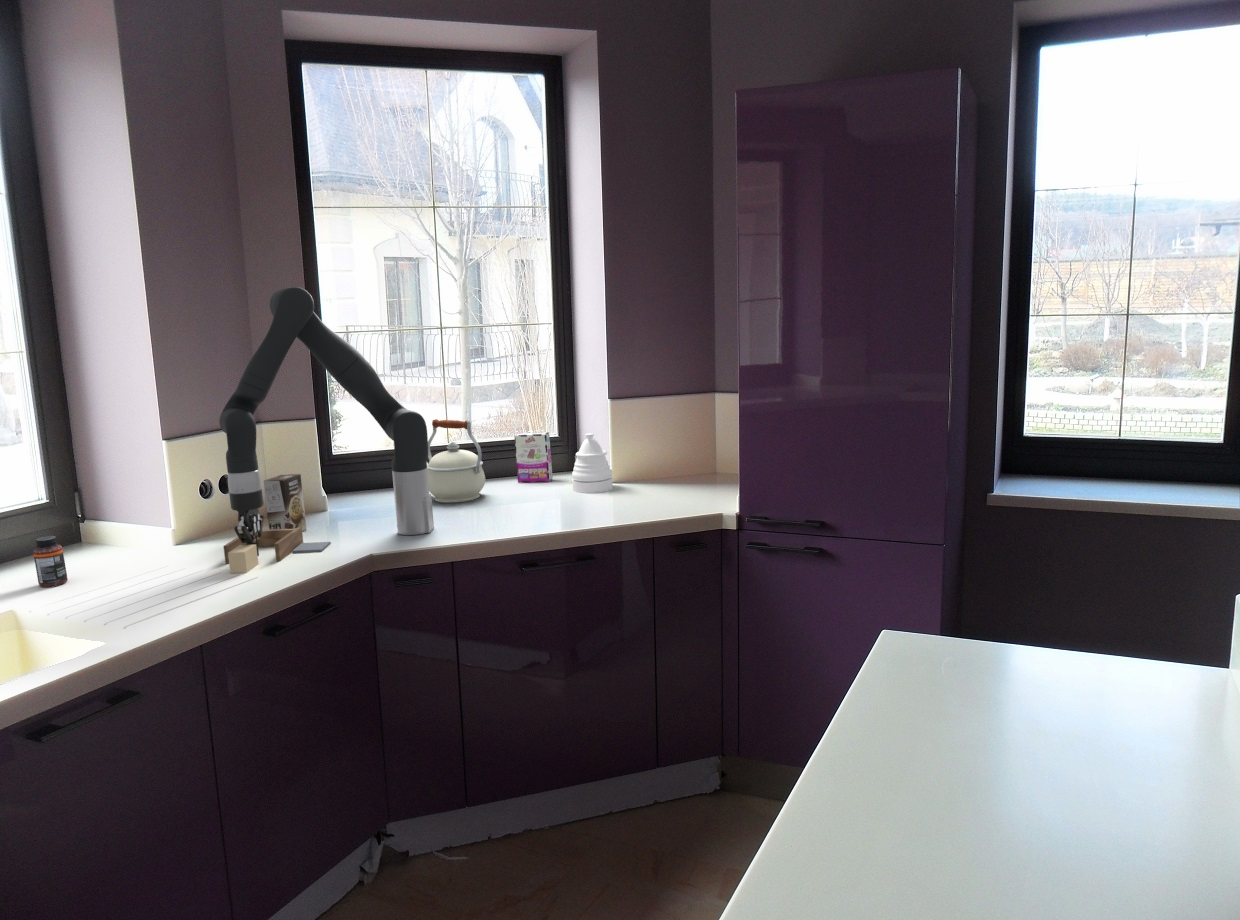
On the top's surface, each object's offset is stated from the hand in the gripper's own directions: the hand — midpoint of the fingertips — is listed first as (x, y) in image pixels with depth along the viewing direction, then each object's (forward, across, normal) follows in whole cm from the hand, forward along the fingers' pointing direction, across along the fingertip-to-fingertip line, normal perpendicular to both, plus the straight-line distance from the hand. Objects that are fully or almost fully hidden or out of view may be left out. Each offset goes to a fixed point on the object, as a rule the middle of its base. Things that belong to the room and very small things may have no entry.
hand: (253, 557), depth 231 cm
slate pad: (+1, +10, -11) cm, 15 cm away
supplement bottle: (+1, -12, +43) cm, 45 cm away
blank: (+1, -6, 0) cm, 6 cm away
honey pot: (+1, +69, -82) cm, 107 cm away
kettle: (+1, +65, -38) cm, 75 cm away
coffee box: (+1, +27, +1) cm, 27 cm away
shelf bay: (+1, +7, 0) cm, 7 cm away
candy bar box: (+2, +86, -62) cm, 106 cm away
